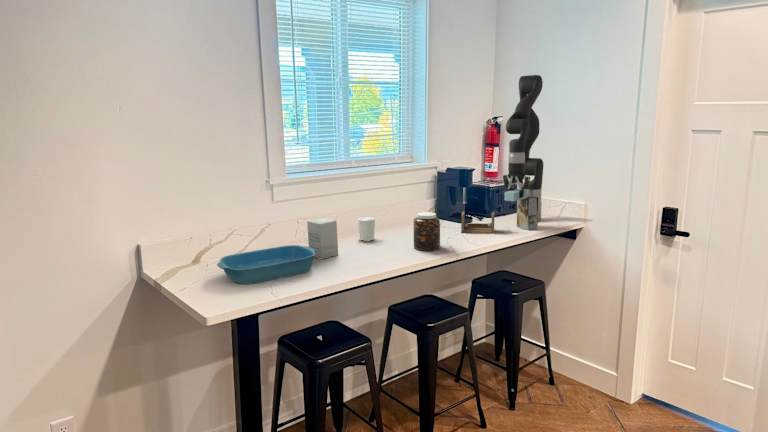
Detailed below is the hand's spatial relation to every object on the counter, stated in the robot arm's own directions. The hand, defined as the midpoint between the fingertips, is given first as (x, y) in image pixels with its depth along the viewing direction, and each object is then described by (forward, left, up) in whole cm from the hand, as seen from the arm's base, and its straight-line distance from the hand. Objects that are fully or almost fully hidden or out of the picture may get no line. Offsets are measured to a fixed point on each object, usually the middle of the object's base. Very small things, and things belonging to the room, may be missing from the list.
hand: (515, 197), depth 250 cm
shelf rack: (+11, -14, -17) cm, 25 cm away
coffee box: (-11, 0, -17) cm, 20 cm away
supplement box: (+89, -36, -17) cm, 98 cm away
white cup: (+58, -43, -17) cm, 74 cm away
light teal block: (0, 0, -1) cm, 1 cm away
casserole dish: (+118, -32, -18) cm, 123 cm away
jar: (+51, -12, -17) cm, 55 cm away
